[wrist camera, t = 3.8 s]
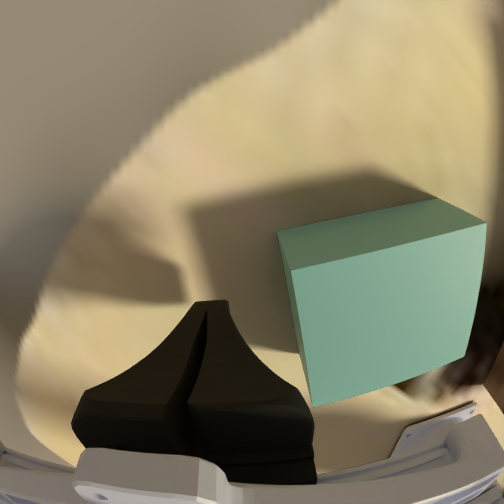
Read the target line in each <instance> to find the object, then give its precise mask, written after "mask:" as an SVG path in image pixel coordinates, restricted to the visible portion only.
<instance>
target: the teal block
mask: <svg viewBox="0 0 504 504" xmlns="http://www.w3.org/2000/svg"><path fill="white" fill-rule="evenodd" d="M486 229H487V223H486V222H485V221H483V220H481V219H479V218H477V217H475V216H473V215H471V214H469V213H467V212H465V211H464V210H462V209H460V208H458V207H456V206H454V205H451V204H449V203H447V202H445V201H443V200H441V199H439V198H435V199H430V200H425V201H420V202H415V203H410V204H405V205H400V206H395V207H390V208H385V209H380V210H375V211H370V212H365V213H360V214H355V215H351V216H346V217H341V218H336V219H331V220H327V221H322V222H317V223H312V224H308V225H303V226H298V227H294V228H289V229H284V230H280V231H277V236H278V241H279V246H280V251H281V256H282V261H283V267H284V272H285V277H286V282H287V288H288V293H289V299H290V304H291V309H292V315H293V321H294V326H295V332H296V337H297V343H298V349H299V355H300V358H301V362H302V366H303V370H304V374H305V378H306V382H307V386H308V390H309V394H310V398H311V402H312V406H313V407H316V406H320V405H325V404H329V403H333V402H336V401H340V400H344V399H348V398H351V397H355V396H358V395H362V394H365V393H368V392H371V391H375V390H378V389H381V388H384V387H387V386H390V385H393V384H396V383H399V382H402V381H405V380H407V379H410V378H413V377H416V376H418V375H421V374H423V373H426V372H429V371H431V370H434V369H436V368H439V367H441V366H443V365H446V364H448V363H450V362H453V361H455V360H457V359H460V358H462V357H464V356H465V353H466V349H467V345H468V341H469V337H470V333H471V329H472V324H473V320H474V315H475V310H476V305H477V300H478V294H479V289H480V282H481V276H482V268H483V261H484V252H485V242H486Z"/></svg>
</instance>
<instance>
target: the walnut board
mask: <svg viewBox="0 0 504 504" xmlns="http://www.w3.org/2000/svg"><path fill="white" fill-rule="evenodd" d="M483 385H484V387H485V388H486V389H487V391H488V392H489V394H490V395H491V396H492V398H493V399H494V401H495V402H496V404H497V405H498V406H499V408H500V409H501V411H502V412H503V414H504V342H503V344H502V347H501V349H500V351H499V353H498V356H497V358H496V360H495V362H494V364H493V366H492V368H491V370H490V372H489V374H488V376H487V378H486V380H485V382H484V384H483Z"/></svg>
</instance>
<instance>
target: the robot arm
mask: <svg viewBox="0 0 504 504" xmlns="http://www.w3.org/2000/svg"><path fill="white" fill-rule="evenodd" d="M477 407H478V404H477V402H474V403H471V404H469V405H466V406H464V407H462V408H459V409H457V410H454V411H451V412H449V413H446V414H443V415H441V416H438V417H435V418H432V419H429V420H426V421H423V422H420V423H417V424H414V425H411V426H408V427H407V428H405V430H404V431H403V433H402V435H401V437H400V439H399V441H398V443H397V445H396V447H395V449H394V451H393V453H392V454H391V456H390V458H389V459H385V460H381V461H378V462H374V463H370V464H366V465H362V466H358V467H354V468H349V469H345V470H340V471H335V472H330V473H324V474H318V475H317V473H316V469H315V464H314V459H313V458H314V451H313V446H312V441H313V434H314V420H313V417H312V414H311V412H310V409H309V407H308V405H307V403H306V402H305V400H304V398H303V396H302V395H301V393H300V392H299V390H298V388H296V387H294V386H293V385H291V384H289V383H288V382H286V381H285V380H283V379H282V378H280V377H279V376H278V375H276V374H275V373H274V372H273V371H272V370H270V369H269V368H268V367H267V366H266V365H265V364H264V363H263V362H262V361H261V360H260V359H259V358H258V357H257V356H256V355H255V354H254V353H253V351H252V350H251V349H250V348H249V346H248V345H247V344H246V342H245V341H244V339H243V338H242V336H241V335H240V333H239V331H238V329H237V327H236V325H235V323H234V321H233V319H232V317H231V314H230V310H229V303H228V301H227V300H213V301H198V302H195V303H194V304H193V305H192V306H191V308H190V309H189V311H188V312H187V313H186V315H185V316H184V317H183V318H182V320H181V321H180V322H179V323H178V325H177V326H176V327H175V328H174V330H173V331H172V332H171V333H170V334H169V335H168V336H167V337H166V339H165V340H164V341H163V342H162V343H161V344H160V345H159V346H158V347H157V348H156V349H154V350H153V351H152V352H151V353H150V354H149V355H147V356H146V357H145V358H144V359H142V360H141V361H139V362H138V363H137V364H135V365H134V366H132V367H131V368H129V369H128V370H126V371H125V372H123V373H121V374H120V375H118V376H116V377H114V378H112V379H110V380H108V381H106V382H104V383H102V384H100V385H97V386H95V387H93V388H90V389H88V390H85V391H84V393H83V395H82V397H81V399H80V402H79V404H78V406H77V409H76V411H75V414H74V416H73V419H72V422H71V425H72V429H73V431H74V433H75V435H76V436H77V438H78V439H79V440H80V442H81V443H82V444H83V445H84V447H85V448H86V449H85V450H84V451H83V452H82V453H81V455H80V458H79V461H78V464H77V467H76V468H72V467H67V466H63V465H60V464H56V463H52V462H48V461H45V460H42V459H38V458H35V457H32V456H29V455H26V454H23V453H20V452H17V451H14V450H11V449H9V448H6V447H5V446H4V444H3V443H2V442H1V441H0V504H504V486H502V485H499V483H498V481H497V479H496V478H497V477H498V476H499V475H500V474H501V473H502V472H503V471H504V450H503V449H502V447H501V445H500V443H499V442H498V440H497V438H496V437H495V435H494V433H493V432H492V430H491V428H490V427H489V425H488V424H487V422H486V420H485V419H484V417H483V416H482V414H478V415H476V416H474V417H472V415H473V413H474V412H475V410H476V408H477ZM471 417H472V418H471Z"/></svg>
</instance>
